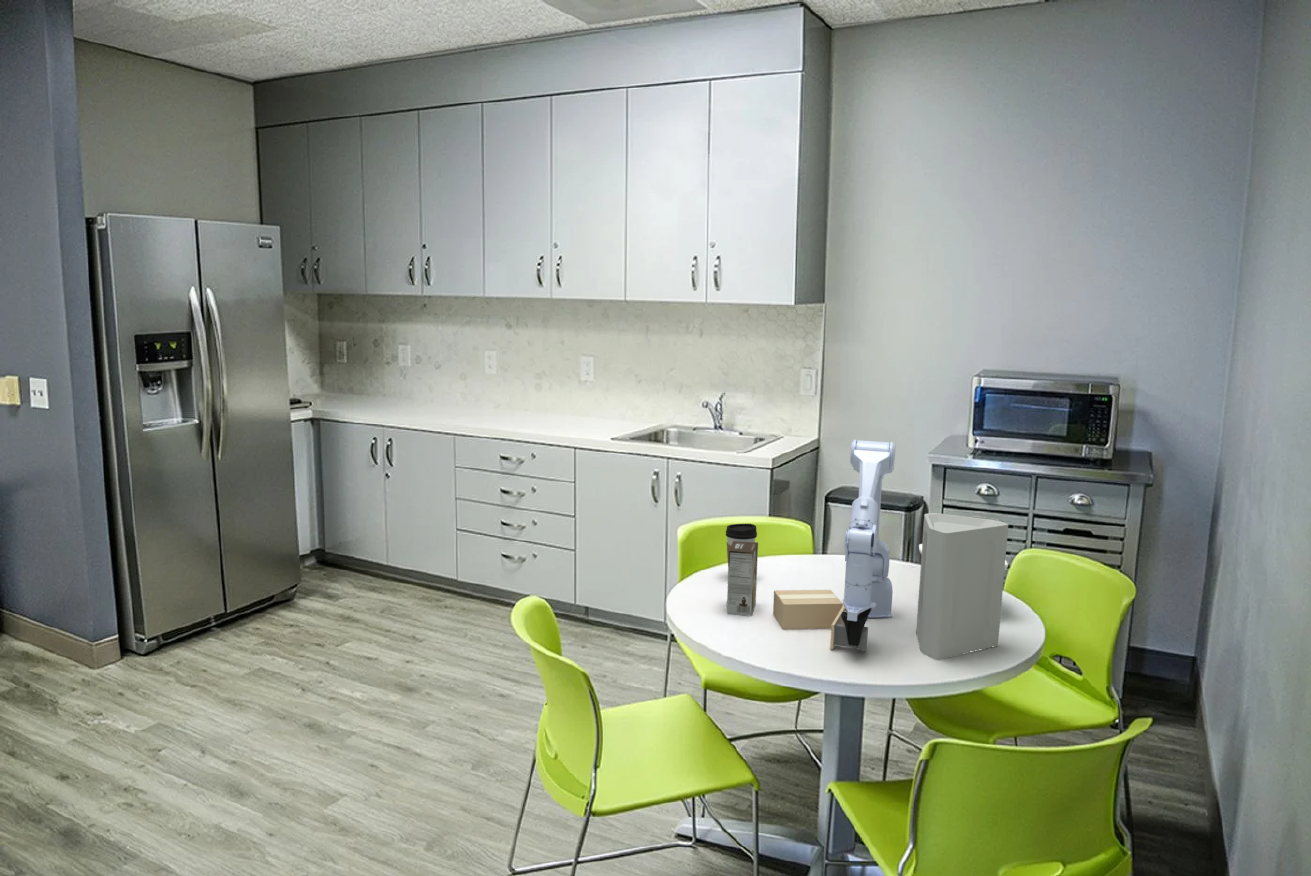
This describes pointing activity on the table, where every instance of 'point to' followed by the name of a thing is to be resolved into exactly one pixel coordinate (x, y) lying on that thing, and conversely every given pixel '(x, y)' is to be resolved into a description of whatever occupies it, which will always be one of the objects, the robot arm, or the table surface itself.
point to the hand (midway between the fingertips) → (854, 641)
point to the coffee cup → (740, 534)
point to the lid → (845, 634)
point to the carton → (805, 608)
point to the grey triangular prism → (960, 584)
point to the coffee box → (742, 578)
